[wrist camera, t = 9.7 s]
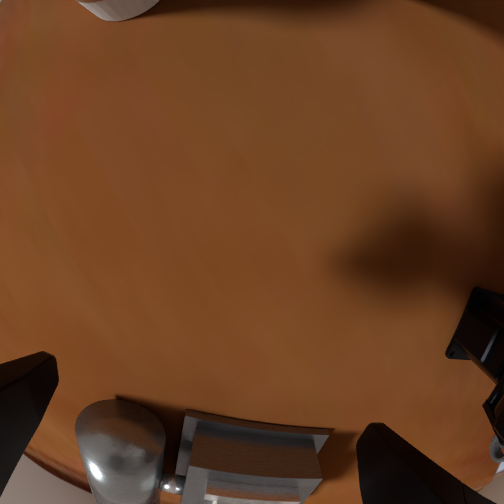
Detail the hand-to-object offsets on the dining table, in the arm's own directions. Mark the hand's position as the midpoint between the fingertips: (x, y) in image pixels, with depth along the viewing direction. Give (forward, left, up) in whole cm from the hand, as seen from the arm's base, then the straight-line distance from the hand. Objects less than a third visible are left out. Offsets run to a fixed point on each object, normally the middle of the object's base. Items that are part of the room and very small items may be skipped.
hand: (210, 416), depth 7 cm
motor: (-1, +19, -12) cm, 23 cm away
